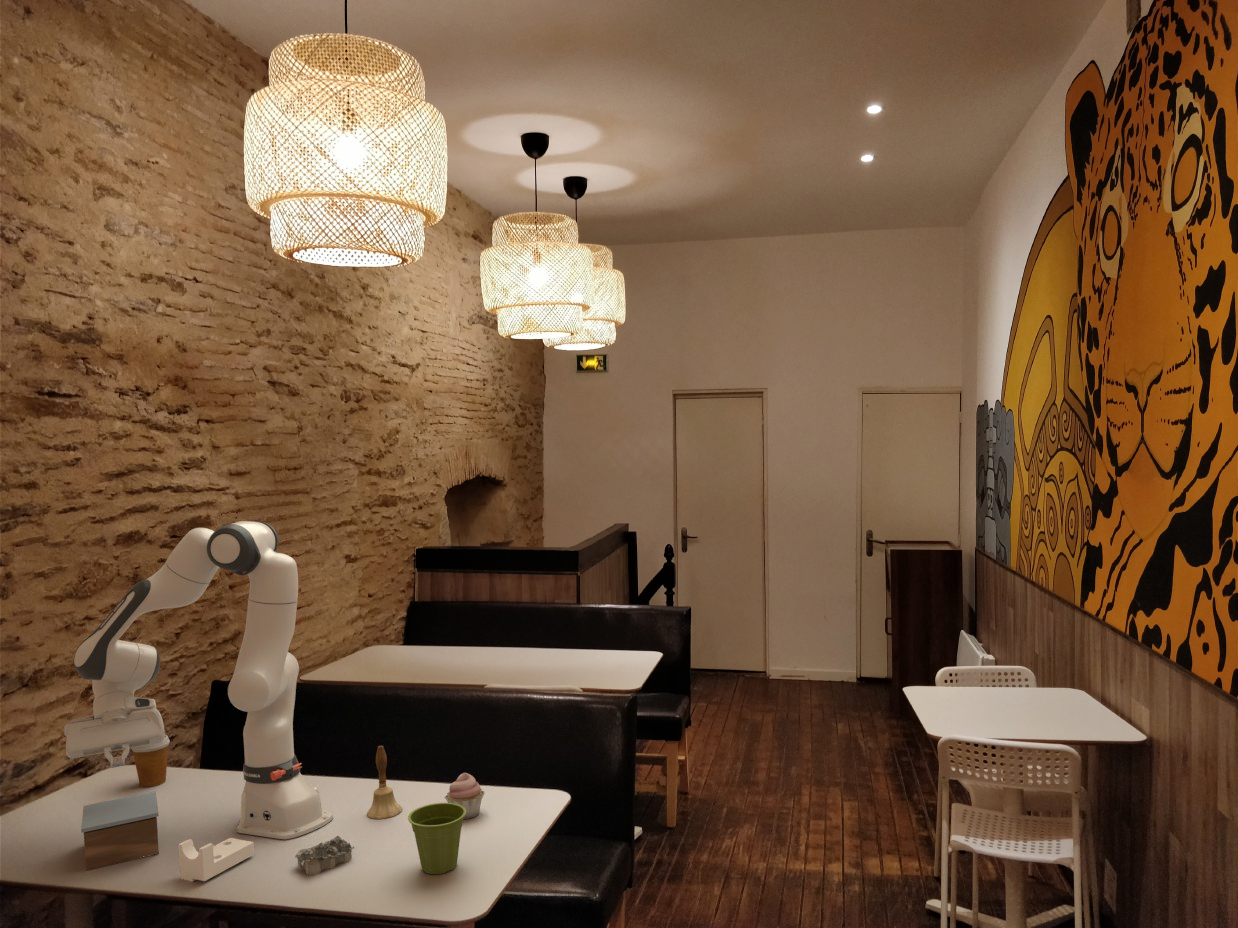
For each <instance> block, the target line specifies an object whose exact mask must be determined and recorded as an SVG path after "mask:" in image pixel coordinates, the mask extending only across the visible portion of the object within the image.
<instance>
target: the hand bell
mask: <svg viewBox="0 0 1238 928" xmlns="http://www.w3.org/2000/svg"><path fill="white" fill-rule="evenodd" d="M387 758H388V757H387V754H386V750H385V748H384V745H378V746H377V750H376V754H375V764H376V765H375V766H376V769H377V771H378V788H376V789H374V790H373V795H372V796H373V797H372V798H373V799H372V803H371V806H370V808H369V809H368V811H367V812H366V816H367V817H368V818H369V819H373V820H384V819H388V818H392V817H395V816H397V815H399V814H400V813H401V812H402V811H403V808H402V805H400V804H399V803H398V802H397V800H396V799H395V795H394V789H393V788H392V787H390V786H387V776H386V775H387V774H386V771H387V765H388V760H387Z"/></svg>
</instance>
